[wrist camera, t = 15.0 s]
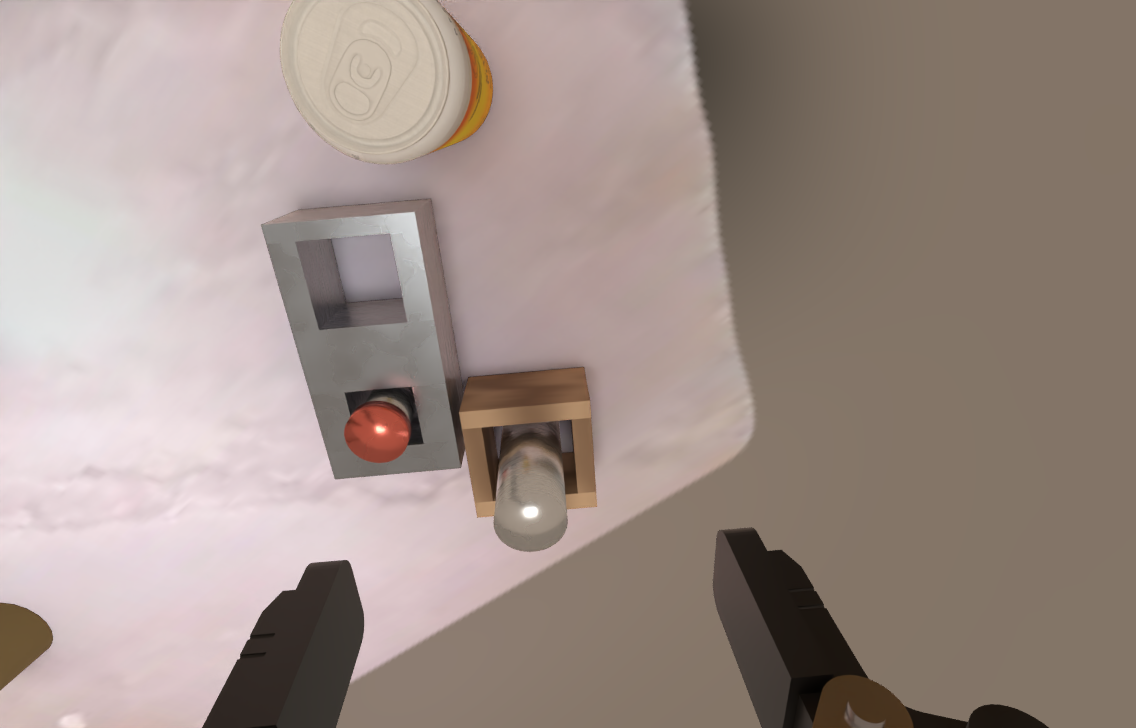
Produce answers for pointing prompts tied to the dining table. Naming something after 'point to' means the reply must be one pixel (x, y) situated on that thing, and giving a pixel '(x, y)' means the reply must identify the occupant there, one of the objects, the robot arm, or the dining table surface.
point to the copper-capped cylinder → (381, 425)
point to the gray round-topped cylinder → (530, 487)
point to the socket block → (372, 330)
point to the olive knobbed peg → (20, 640)
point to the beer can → (384, 76)
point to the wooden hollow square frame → (522, 404)
